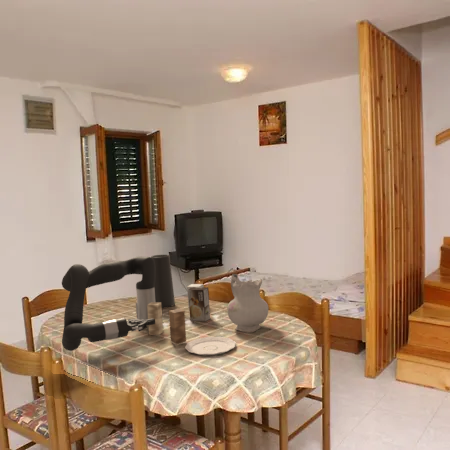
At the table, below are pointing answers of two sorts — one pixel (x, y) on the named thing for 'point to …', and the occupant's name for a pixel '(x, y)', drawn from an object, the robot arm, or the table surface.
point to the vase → (163, 281)
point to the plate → (200, 343)
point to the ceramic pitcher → (247, 305)
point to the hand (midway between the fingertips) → (154, 321)
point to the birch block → (156, 314)
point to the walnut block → (177, 326)
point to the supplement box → (193, 286)
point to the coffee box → (199, 303)
